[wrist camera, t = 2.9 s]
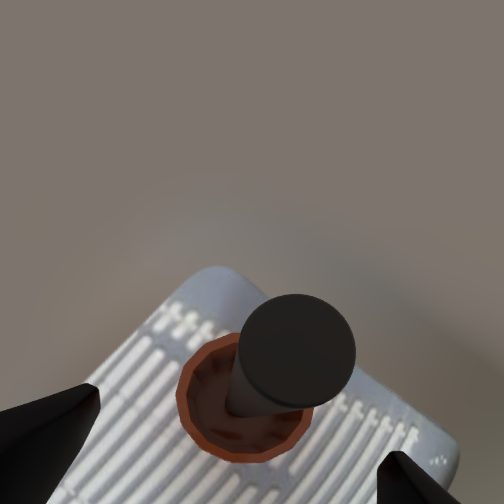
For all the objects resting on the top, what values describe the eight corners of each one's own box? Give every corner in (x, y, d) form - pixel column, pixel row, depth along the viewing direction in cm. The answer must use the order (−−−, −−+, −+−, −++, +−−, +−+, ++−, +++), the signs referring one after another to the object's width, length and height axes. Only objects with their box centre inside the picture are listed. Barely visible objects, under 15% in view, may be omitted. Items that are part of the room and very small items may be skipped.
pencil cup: (265, 467, 14) (281, 483, 10) (169, 421, 15) (151, 421, 11) (307, 380, 17) (335, 366, 13) (216, 338, 18) (216, 310, 14)
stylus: (247, 422, 15) (332, 426, 4) (219, 409, 16) (215, 375, 4) (261, 396, 16) (371, 320, 4) (233, 383, 17) (270, 273, 5)
